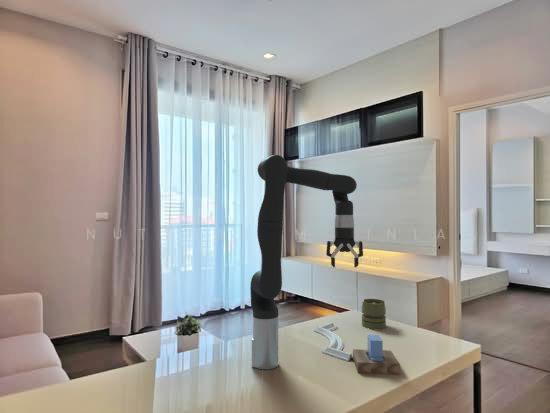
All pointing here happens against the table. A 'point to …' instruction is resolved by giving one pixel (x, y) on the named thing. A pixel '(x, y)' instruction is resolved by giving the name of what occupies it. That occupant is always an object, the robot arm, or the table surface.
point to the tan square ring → (376, 363)
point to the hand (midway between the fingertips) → (344, 267)
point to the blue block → (375, 348)
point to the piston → (373, 314)
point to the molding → (333, 342)
